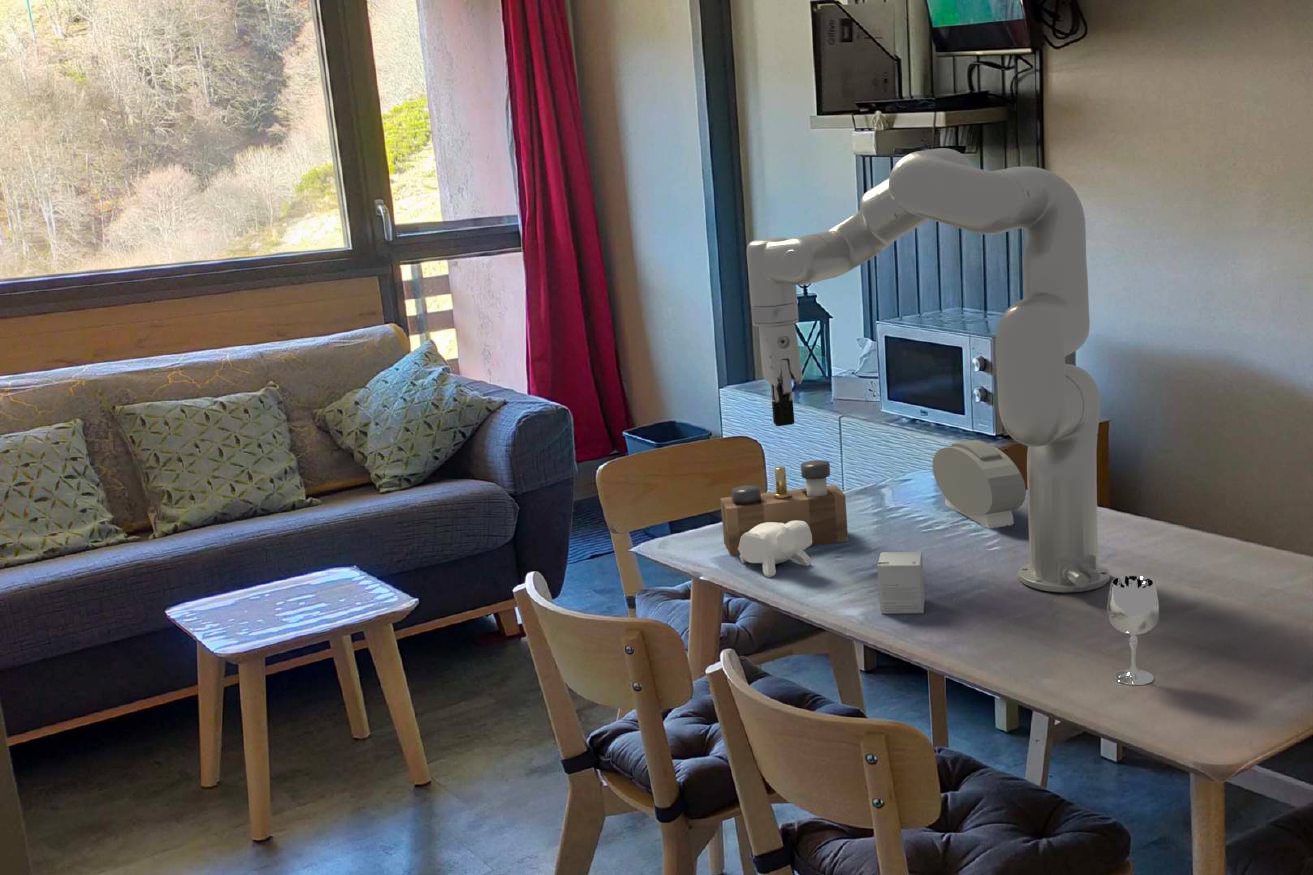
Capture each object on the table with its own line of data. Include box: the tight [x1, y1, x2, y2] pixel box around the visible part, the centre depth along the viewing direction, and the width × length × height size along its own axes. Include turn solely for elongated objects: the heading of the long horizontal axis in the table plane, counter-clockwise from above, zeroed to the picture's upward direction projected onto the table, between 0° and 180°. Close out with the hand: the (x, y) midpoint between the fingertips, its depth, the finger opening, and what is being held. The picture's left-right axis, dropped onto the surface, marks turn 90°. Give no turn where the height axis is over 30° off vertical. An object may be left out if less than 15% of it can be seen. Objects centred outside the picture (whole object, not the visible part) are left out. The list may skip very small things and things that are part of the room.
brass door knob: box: [773, 466, 791, 499], centre depth 214 cm, size 3×3×5 cm
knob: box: [800, 459, 831, 497], centre depth 215 cm, size 5×5×9 cm
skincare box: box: [876, 551, 926, 615], centre depth 182 cm, size 6×6×7 cm
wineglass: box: [1106, 575, 1160, 686], centre depth 151 cm, size 6×6×12 cm
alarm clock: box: [932, 439, 1027, 530], centre depth 221 cm, size 23×6×13 cm, turn 12°
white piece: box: [738, 520, 813, 578], centre depth 203 cm, size 9×8×15 cm
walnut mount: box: [719, 484, 849, 556], centre depth 216 cm, size 7×20×8 cm, turn 95°
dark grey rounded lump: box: [731, 485, 762, 505], centre depth 215 cm, size 5×5×9 cm
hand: (784, 424), depth 212 cm, fingers closed
